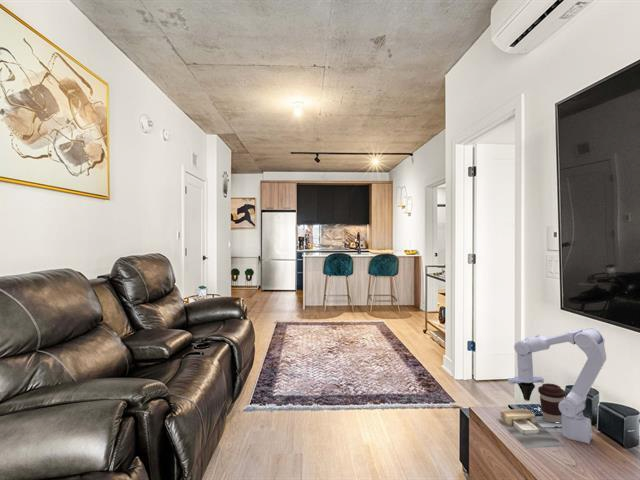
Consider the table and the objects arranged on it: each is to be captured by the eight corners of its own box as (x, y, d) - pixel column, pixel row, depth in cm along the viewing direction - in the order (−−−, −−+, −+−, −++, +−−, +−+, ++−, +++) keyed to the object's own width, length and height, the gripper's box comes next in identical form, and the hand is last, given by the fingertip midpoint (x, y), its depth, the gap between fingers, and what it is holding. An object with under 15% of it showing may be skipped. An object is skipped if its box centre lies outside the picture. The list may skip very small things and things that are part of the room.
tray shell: (539, 434, 147) (539, 429, 147) (523, 435, 147) (523, 430, 147) (522, 419, 159) (522, 415, 159) (507, 420, 159) (507, 416, 159)
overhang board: (566, 448, 138) (565, 434, 138) (526, 450, 138) (525, 436, 138) (529, 419, 161) (529, 407, 161) (495, 420, 161) (495, 409, 161)
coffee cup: (534, 419, 161) (533, 385, 161) (548, 413, 165) (546, 380, 165) (558, 429, 152) (556, 392, 152) (571, 422, 157) (570, 387, 157)
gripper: (536, 364, 163) (537, 395, 163) (503, 365, 163) (505, 396, 163) (546, 369, 156) (547, 401, 156) (512, 371, 156) (513, 403, 156)
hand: (526, 399), depth 159 cm, fingers closed
